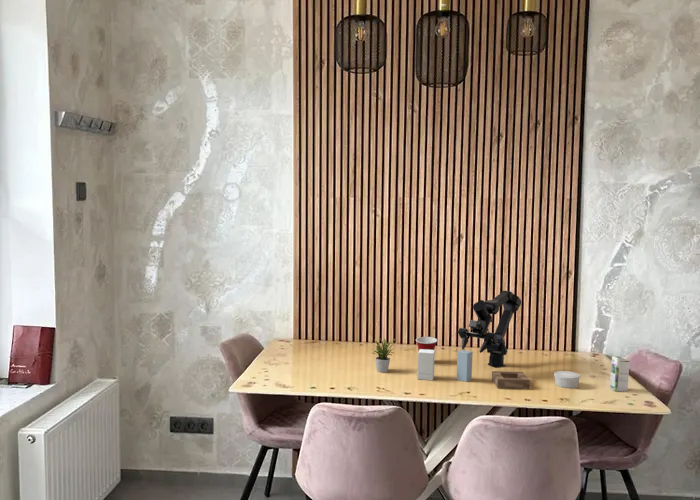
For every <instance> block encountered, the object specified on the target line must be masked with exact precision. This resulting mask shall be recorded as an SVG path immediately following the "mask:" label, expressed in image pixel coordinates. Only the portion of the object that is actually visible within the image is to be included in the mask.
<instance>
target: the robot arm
mask: <svg viewBox="0 0 700 500" xmlns="http://www.w3.org/2000/svg"><path fill="white" fill-rule="evenodd" d="M521 305H522V300H521V298H520V297H519V296H518V295H517V294H514V293H513V292H512V291H510V290H502V291H500V293H499V294H498V295H496V296H495V297H494V298H492V299H489V300H483V299H479V301H477V302H475V303H474V304H473V305H472V309H473V311H474V313H475V315H476V317H478V319H477V320H475V319H474V320H473V319H470V320H469V324H468V327H469V328H471V329H470V330H471V331H472V332H471V331H469V330H468V328H465V327H464V328H463V327H460V328H458V330H457V334H458V336H459V338H460V339H461V350H465V348H466V346H467V345H468V343H469V340H470V338H471V337H472V338H477V339H483V341H482V344H481V347H480V349H479V353H480V354H481V353H483V352H484V351H486V352H487V353H488V354H489V356H488V357H489V359H488V363H487V365H488V366H491V367H493V368H501V367H507V366H506V364H505V363H504V362H505V361H504V359H505V358H504V357H505V356H506V355H507V353H508V348H507V346H506V340H505V336H506V334H507V330H508V327H509V325H510V323H511V320H512V318H513V314H514V313H516V312H517V311H519V309H520V306H521ZM501 306H503V311H502V313H501V317H500V318H499V322H498V324H497V327H496V329H495V331H494V332H490V331H489V327H490V325H491V323H493V322H494V320H493V316H492V315H497V314H498V313H499V311H500V307H501Z"/></svg>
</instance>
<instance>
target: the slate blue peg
mask: <svg viewBox="0 0 700 500" xmlns="http://www.w3.org/2000/svg"><path fill="white" fill-rule="evenodd" d="M473 354H474V353H473V351H471V350H466V349H463V350H462V349H461V350H459V351H457V354H456V355H457V356H456V360H457V361H456V363H457V364H456V381H462V382H466V383H467V382H469V381H471V380H472V379H473V378H472V376H473V375H472V374H473Z"/></svg>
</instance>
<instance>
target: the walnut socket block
mask: <svg viewBox="0 0 700 500" xmlns="http://www.w3.org/2000/svg"><path fill="white" fill-rule="evenodd" d="M491 381H492V382H493V384H494V385H495V386H496V389H500V390H501V389H504V390H505V389H506V390H530V389H531V379H530V378H529V377H528V376H527V374H525V373H524V372H523V371H504V370H503V371H501V370H500V371H499V370H498V371H497V370H496V371H495V370H493V371H491Z"/></svg>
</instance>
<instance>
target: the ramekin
mask: <svg viewBox="0 0 700 500" xmlns="http://www.w3.org/2000/svg"><path fill="white" fill-rule="evenodd" d="M553 373H554V374H553V375H554V382H555V385H556V386H557V387H560V388H564V389H576V388H578V386H579V381H580V378H581V375H580V374H579V373H578V372H573V371H566V370H558V371H555V372H553Z"/></svg>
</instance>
